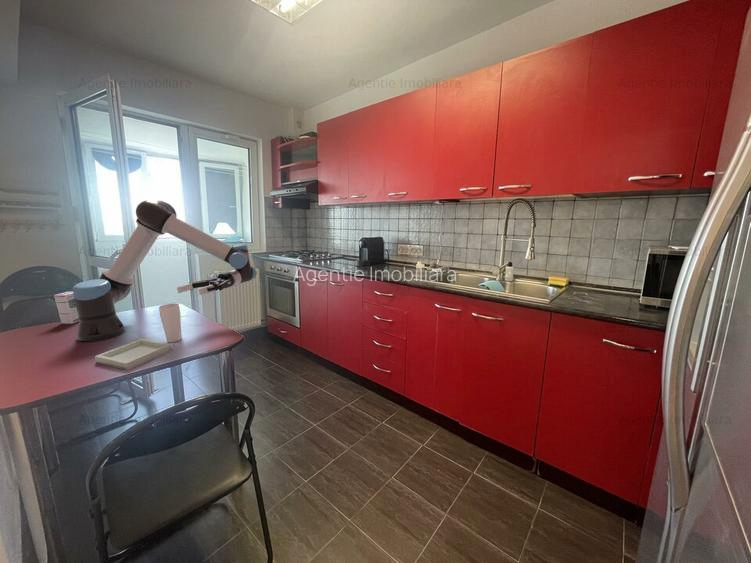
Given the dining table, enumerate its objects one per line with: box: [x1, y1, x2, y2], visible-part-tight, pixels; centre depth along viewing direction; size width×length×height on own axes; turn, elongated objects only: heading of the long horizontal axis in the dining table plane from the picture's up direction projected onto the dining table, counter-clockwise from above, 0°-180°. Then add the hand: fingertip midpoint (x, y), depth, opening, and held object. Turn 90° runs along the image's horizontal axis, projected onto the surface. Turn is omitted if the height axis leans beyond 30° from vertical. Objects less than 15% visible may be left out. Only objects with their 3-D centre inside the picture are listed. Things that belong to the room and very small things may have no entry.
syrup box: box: [54, 291, 80, 325], centre depth 142 cm, size 6×6×14 cm
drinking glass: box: [158, 302, 183, 343], centre depth 122 cm, size 7×7×15 cm
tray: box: [94, 338, 173, 371], centre depth 109 cm, size 16×16×2 cm
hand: (188, 291), depth 128 cm, fingers open, 13 cm apart
